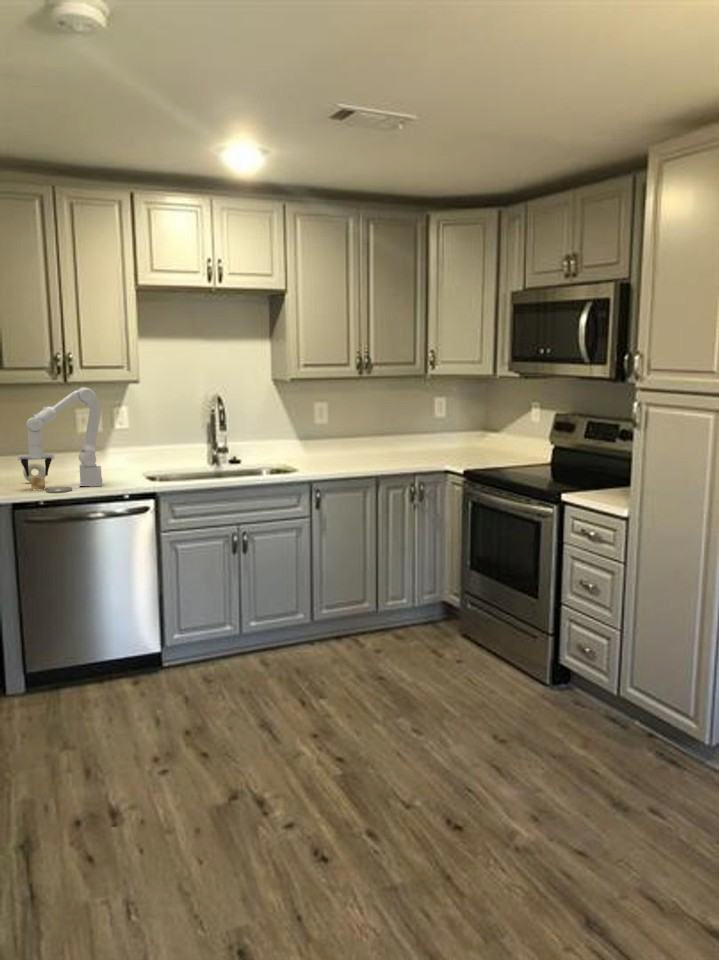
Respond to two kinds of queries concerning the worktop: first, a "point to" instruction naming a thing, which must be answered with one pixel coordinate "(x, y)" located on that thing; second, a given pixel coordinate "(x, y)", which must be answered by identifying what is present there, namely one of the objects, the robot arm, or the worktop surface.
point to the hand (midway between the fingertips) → (37, 475)
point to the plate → (58, 489)
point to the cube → (38, 483)
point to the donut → (37, 466)
